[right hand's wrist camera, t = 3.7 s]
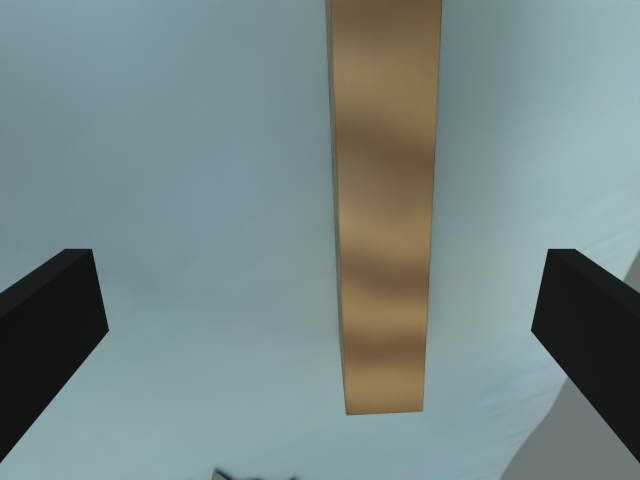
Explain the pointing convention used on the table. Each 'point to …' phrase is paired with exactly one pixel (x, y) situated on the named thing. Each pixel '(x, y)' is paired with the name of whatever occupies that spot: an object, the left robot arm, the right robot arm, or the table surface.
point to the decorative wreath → (217, 476)
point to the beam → (383, 193)
